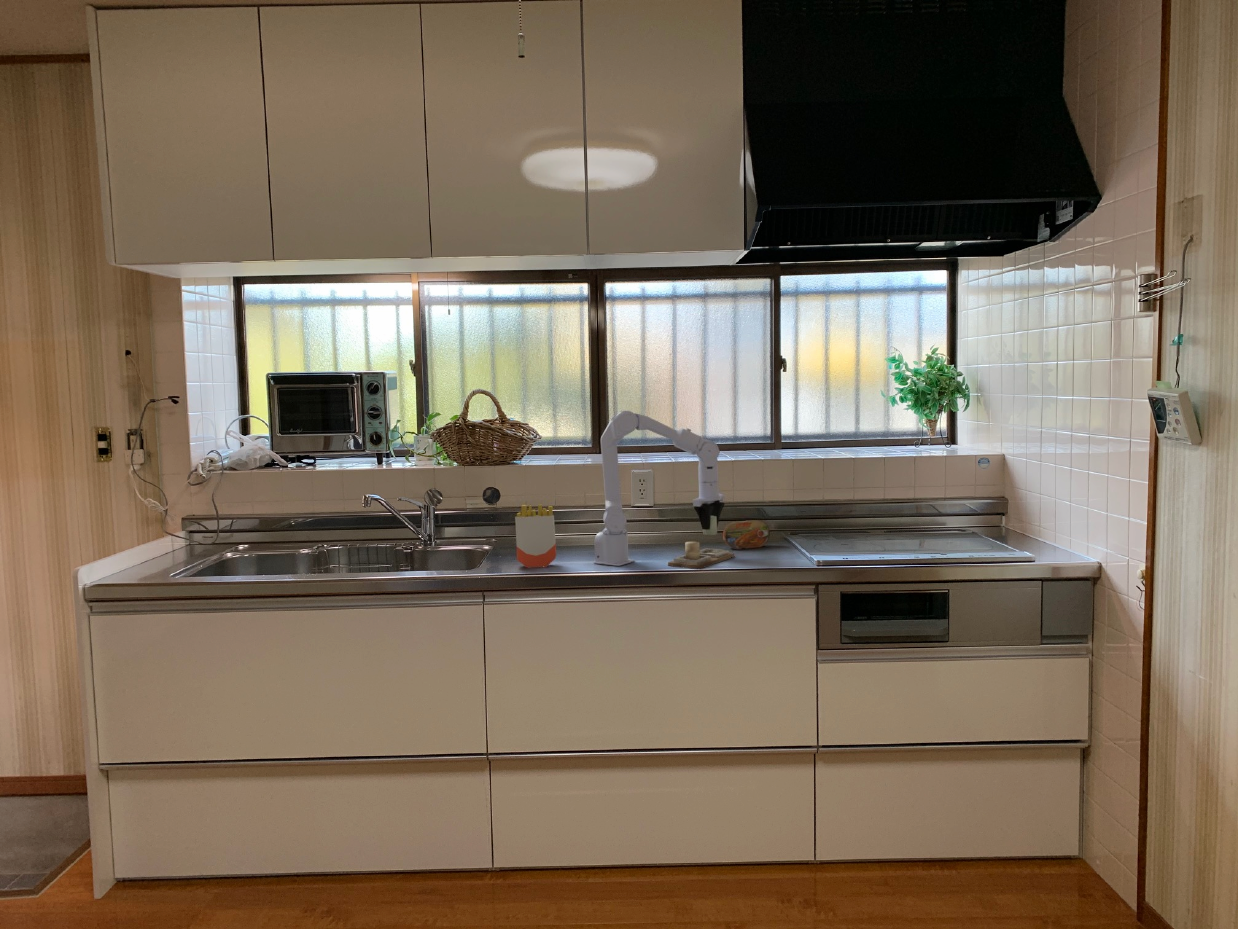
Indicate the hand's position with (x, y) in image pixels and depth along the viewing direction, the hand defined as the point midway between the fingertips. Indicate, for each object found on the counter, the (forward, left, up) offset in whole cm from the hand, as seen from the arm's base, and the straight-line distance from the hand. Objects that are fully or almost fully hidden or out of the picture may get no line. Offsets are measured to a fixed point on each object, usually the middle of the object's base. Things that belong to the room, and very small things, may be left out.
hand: (709, 528), depth 242 cm
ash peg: (0, -10, -8) cm, 13 cm away
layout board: (0, -5, -9) cm, 10 cm away
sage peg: (0, 0, -2) cm, 2 cm away
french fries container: (-39, -32, -9) cm, 51 cm away
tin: (+1, +20, -9) cm, 22 cm away
